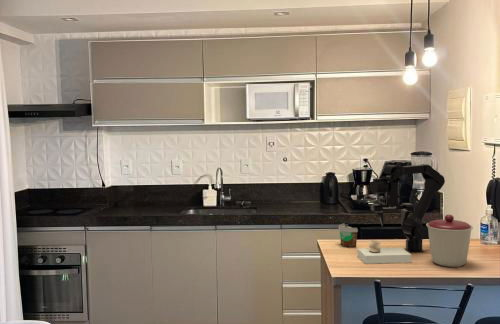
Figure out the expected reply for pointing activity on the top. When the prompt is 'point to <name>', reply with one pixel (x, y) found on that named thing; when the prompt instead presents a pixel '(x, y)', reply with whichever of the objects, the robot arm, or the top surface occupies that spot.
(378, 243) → the peg
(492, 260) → the top surface
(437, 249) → the canister
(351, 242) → the food container
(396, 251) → the board
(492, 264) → the top surface
